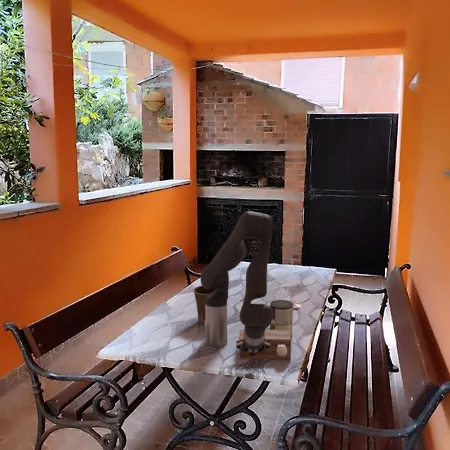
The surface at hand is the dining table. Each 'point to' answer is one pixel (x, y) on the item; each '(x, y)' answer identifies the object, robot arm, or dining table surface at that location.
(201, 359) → the dining table surface
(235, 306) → the dining table surface
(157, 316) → the dining table surface
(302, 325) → the dining table surface
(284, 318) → the coffee can
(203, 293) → the plant pot
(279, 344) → the ivory button
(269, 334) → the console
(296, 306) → the teacup and saucer
